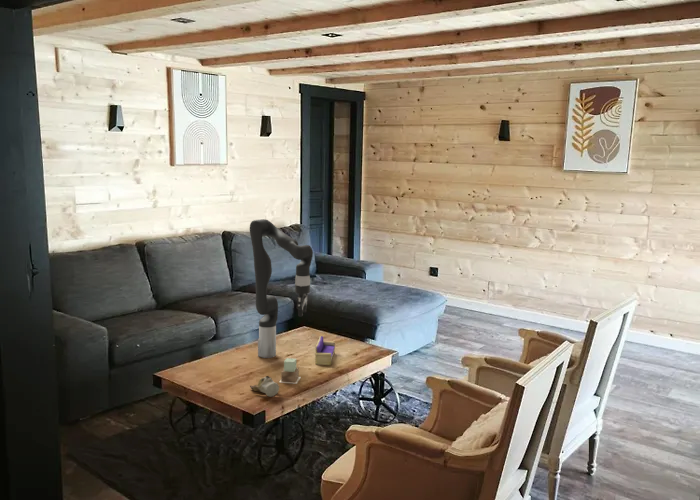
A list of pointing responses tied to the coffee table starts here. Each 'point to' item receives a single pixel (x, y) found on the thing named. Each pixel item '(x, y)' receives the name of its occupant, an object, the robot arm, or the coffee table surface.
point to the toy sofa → (324, 352)
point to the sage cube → (290, 365)
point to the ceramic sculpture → (266, 386)
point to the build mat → (291, 382)
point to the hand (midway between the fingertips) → (302, 314)
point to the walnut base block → (290, 376)
